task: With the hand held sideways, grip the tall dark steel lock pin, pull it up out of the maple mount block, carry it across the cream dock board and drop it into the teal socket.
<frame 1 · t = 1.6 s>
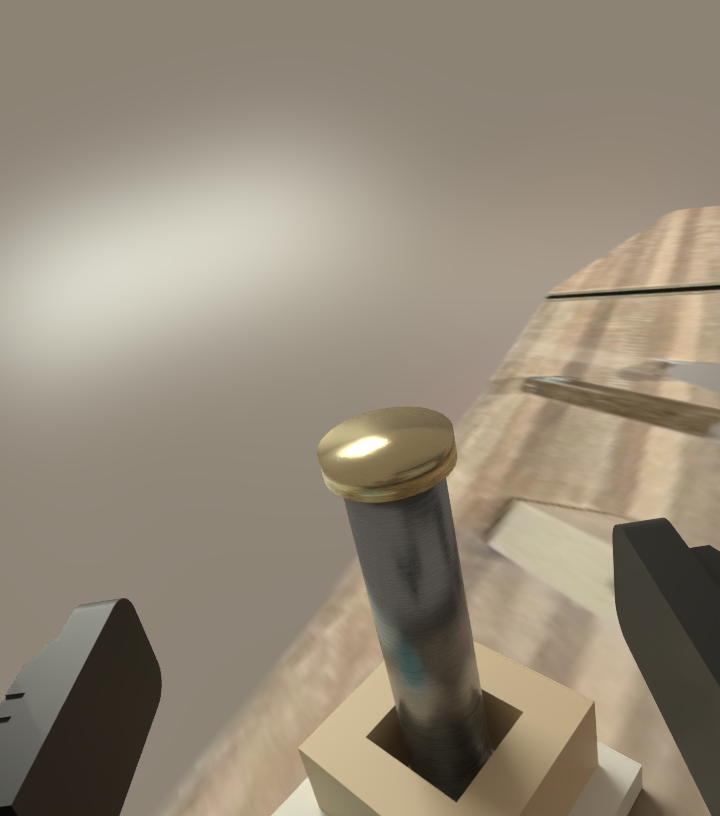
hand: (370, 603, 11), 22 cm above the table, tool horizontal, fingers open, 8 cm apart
lock pin: (456, 785, 29), point 1 cm above the table, touching dock
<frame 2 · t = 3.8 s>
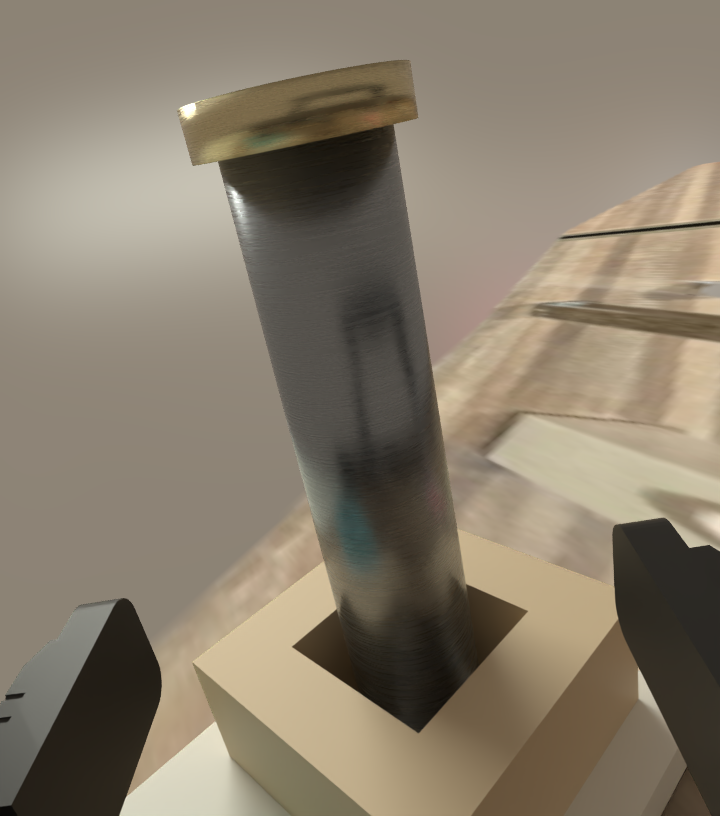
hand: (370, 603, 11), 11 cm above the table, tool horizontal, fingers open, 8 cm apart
lock pin: (429, 727, 20), point 1 cm above the table, touching dock
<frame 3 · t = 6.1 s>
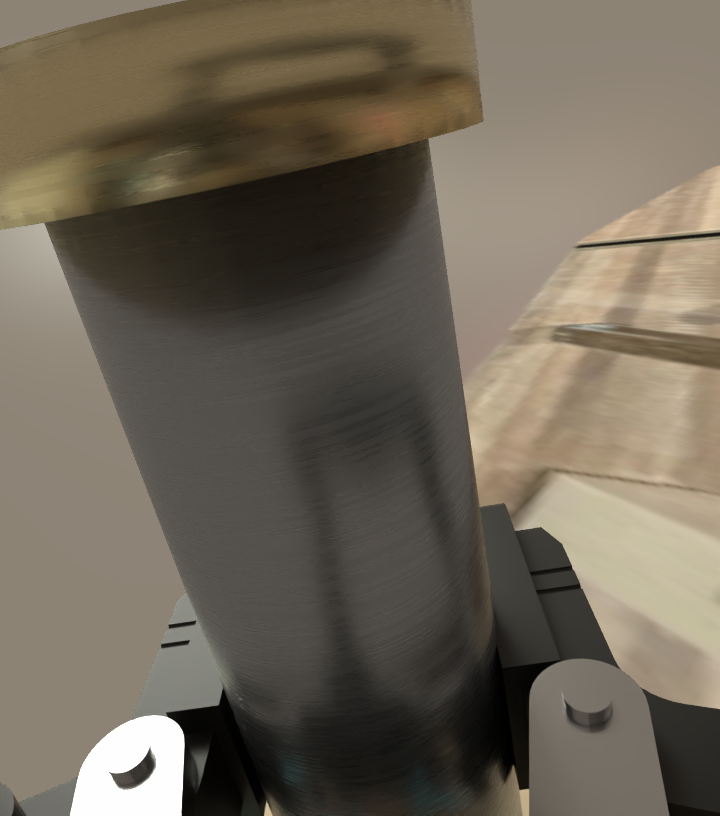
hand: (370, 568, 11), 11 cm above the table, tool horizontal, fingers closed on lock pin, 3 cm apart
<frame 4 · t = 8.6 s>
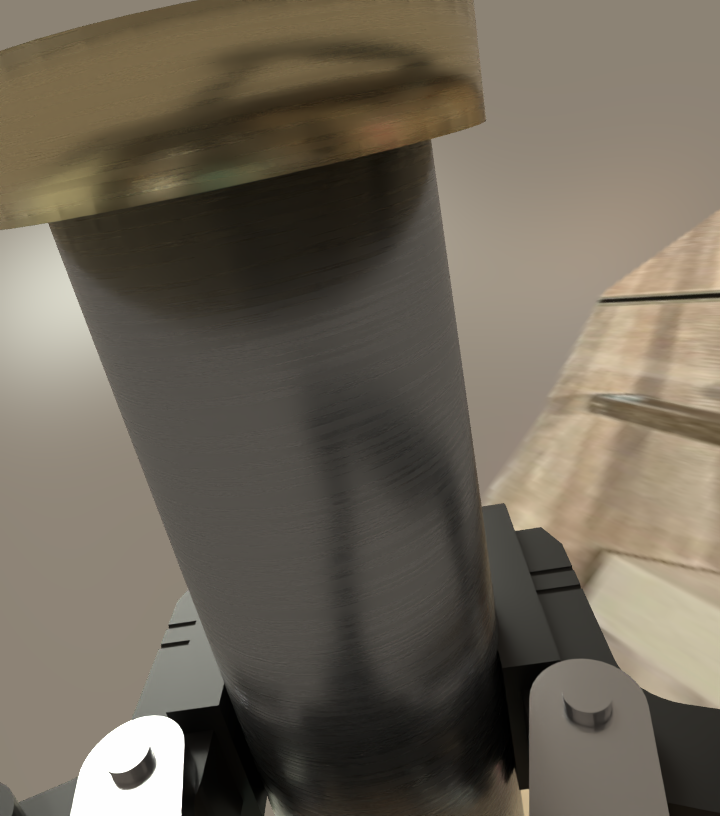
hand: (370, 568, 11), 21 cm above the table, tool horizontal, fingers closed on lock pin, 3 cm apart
when the fingers open (12 cm above the table, at t = 11.5 s): lock pin stays where it is, resting on dock.
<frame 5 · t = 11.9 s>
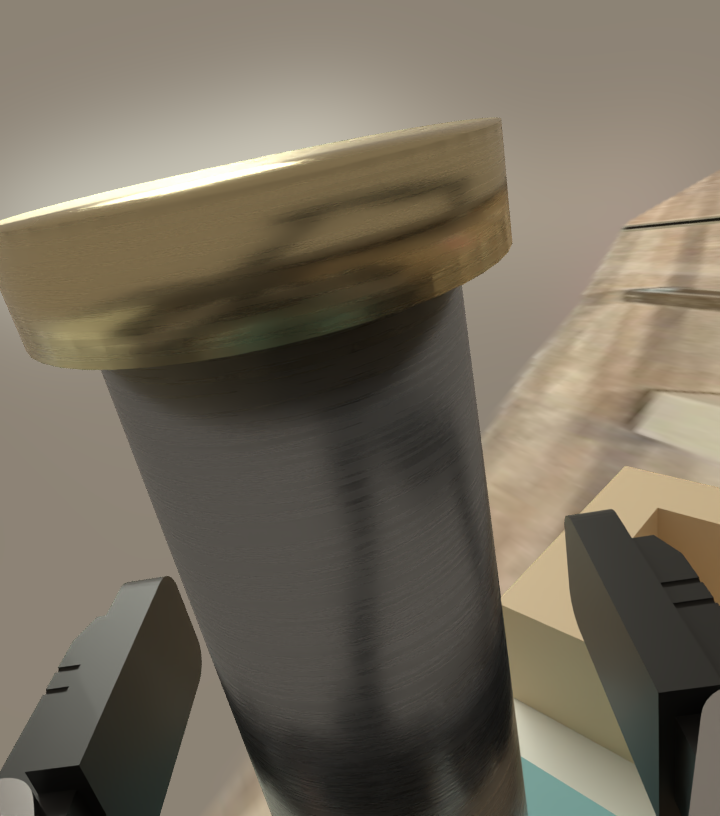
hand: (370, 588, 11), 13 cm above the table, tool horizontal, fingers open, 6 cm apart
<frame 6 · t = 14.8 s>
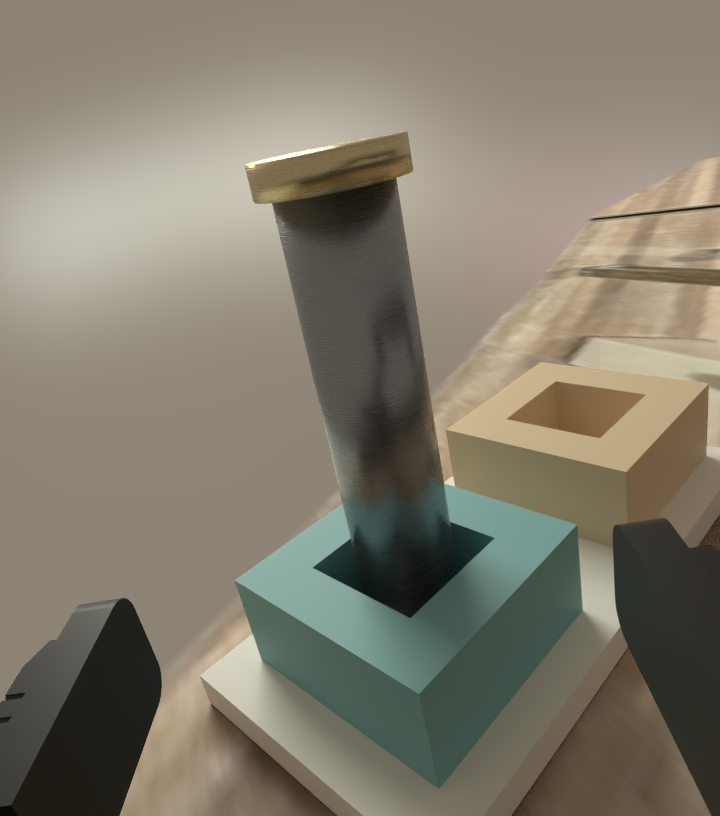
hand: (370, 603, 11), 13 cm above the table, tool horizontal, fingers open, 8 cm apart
lock pin: (420, 636, 25), point 2 cm above the table, touching dock
dock: (507, 578, 29), on the table
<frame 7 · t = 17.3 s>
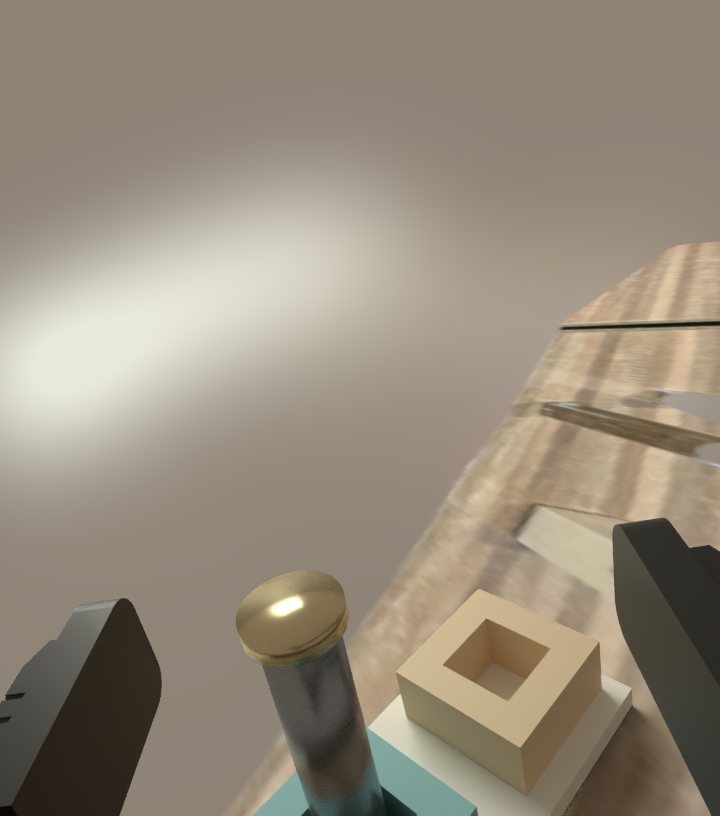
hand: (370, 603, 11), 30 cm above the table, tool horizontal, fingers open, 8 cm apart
dock: (439, 801, 38), on the table
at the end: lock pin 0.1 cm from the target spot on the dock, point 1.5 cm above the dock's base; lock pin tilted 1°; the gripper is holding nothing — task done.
